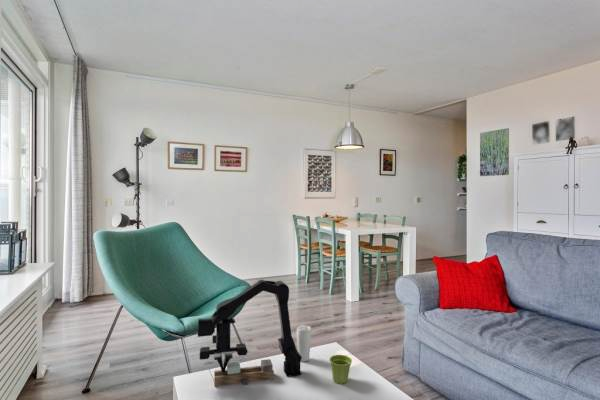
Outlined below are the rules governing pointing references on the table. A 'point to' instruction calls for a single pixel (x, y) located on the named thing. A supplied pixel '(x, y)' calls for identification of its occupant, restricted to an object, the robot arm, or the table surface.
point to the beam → (246, 375)
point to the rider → (233, 367)
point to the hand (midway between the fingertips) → (223, 371)
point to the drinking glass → (304, 341)
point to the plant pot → (340, 368)
